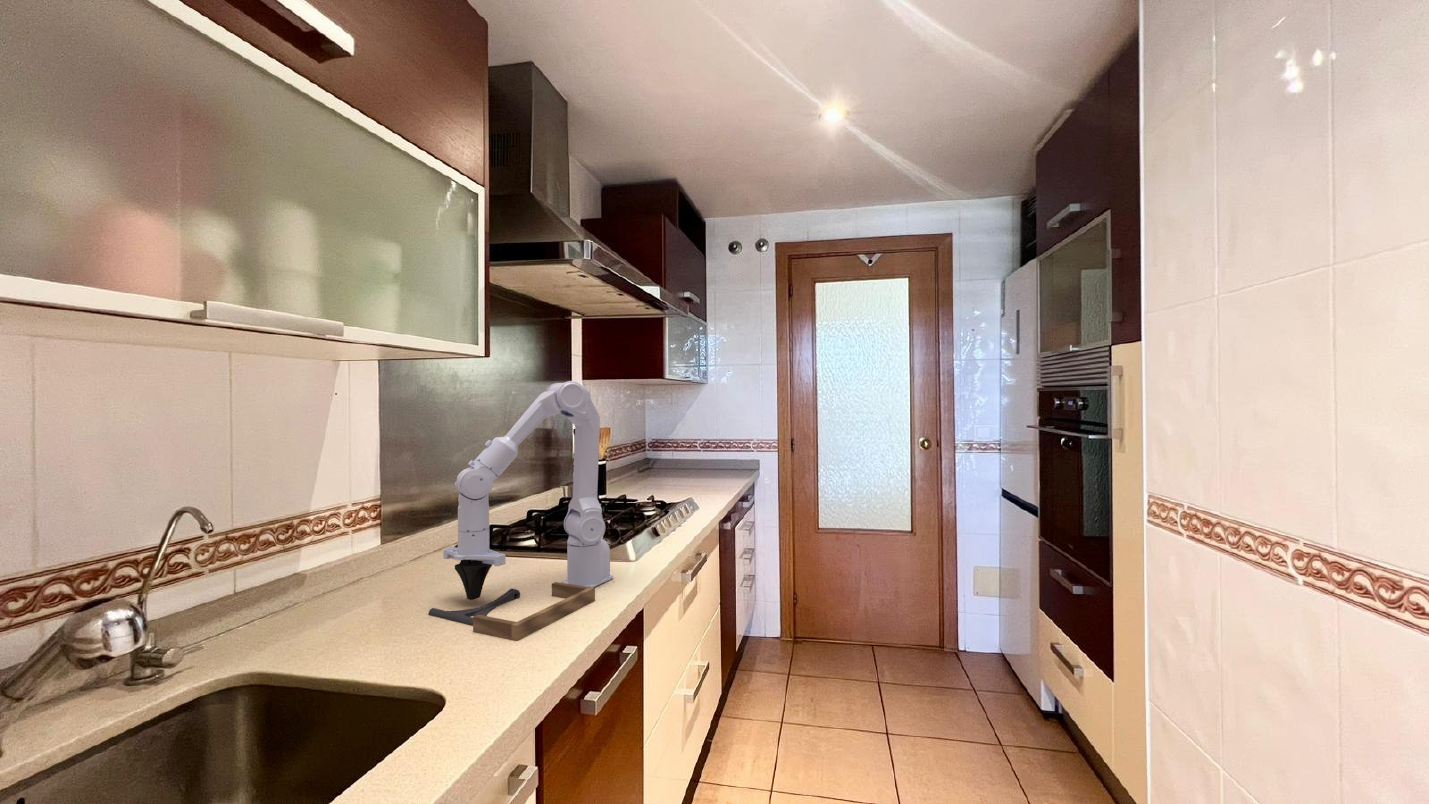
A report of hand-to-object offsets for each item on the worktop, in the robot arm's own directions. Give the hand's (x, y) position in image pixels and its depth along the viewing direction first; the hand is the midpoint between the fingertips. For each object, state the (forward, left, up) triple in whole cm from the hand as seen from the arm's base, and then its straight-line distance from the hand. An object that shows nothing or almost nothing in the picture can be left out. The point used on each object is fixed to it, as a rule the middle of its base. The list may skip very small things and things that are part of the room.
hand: (473, 598), depth 113 cm
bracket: (+1, +5, -2) cm, 5 cm away
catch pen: (0, +16, -1) cm, 16 cm away
